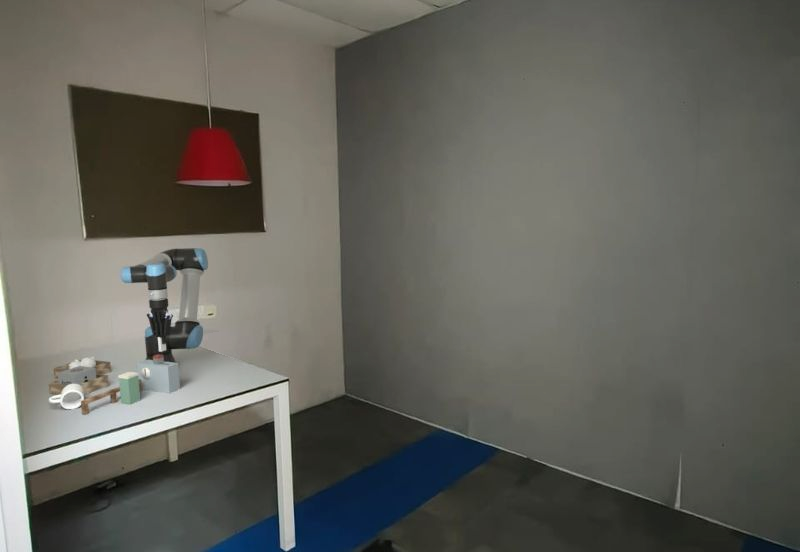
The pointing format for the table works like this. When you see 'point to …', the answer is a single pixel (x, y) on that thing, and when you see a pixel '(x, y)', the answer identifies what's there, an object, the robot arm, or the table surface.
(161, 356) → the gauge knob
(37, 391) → the table surface
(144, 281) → the robot arm
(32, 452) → the table surface
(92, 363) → the cat figurine
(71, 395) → the mug
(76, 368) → the icon cube
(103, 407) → the table surface
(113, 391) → the handrail
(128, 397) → the green rectangular block
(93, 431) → the table surface
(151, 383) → the end cabinet
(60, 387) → the corral
